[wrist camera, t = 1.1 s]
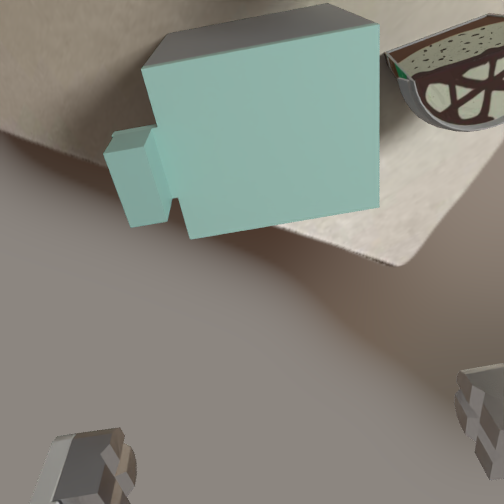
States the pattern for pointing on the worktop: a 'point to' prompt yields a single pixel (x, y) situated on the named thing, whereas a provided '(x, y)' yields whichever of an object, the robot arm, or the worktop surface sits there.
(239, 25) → the tub
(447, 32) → the food container
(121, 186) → the lid
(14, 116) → the worktop surface
